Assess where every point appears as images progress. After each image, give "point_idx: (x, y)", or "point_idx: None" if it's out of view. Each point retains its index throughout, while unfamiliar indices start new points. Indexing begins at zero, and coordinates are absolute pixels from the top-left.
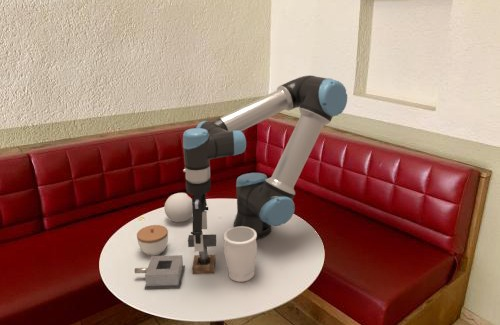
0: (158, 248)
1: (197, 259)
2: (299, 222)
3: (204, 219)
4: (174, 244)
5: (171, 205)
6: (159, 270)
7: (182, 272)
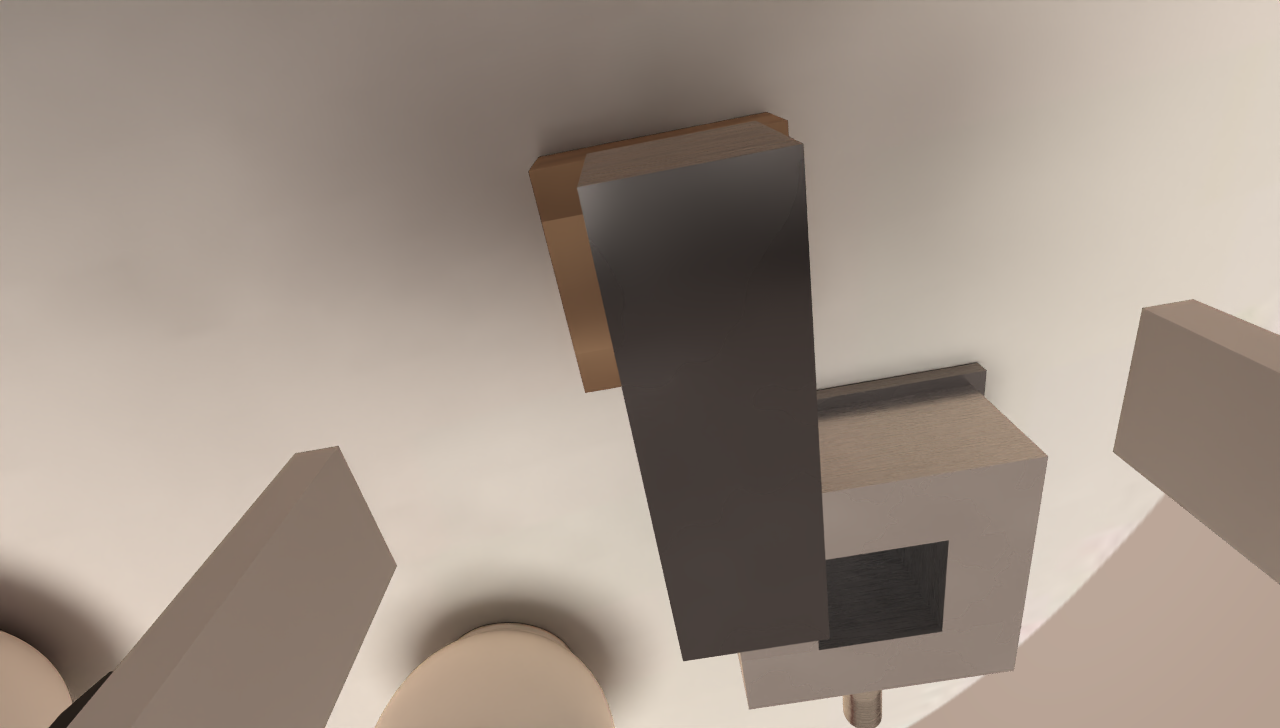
0: (582, 691)
1: None
2: None
3: (228, 678)
4: None
5: None
6: (964, 604)
7: None
